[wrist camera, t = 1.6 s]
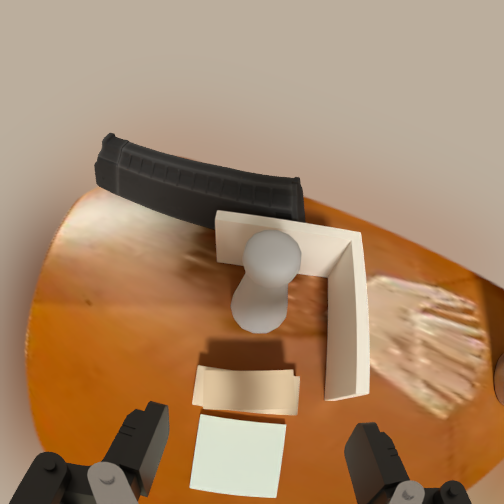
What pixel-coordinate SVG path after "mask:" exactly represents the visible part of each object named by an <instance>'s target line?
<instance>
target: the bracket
mask: <svg viewBox="0 0 504 504" xmlns="http://www.w3.org/2000/svg"><path fill="white" fill-rule="evenodd" d="M264 230H279V231H281V232H283V233H286V234H288V235H290V236H291V237H292V238H293V239H294V240H295V241H296V242H297V243H298V245H299V248H300V250H301V253H302V255H301V264H300V270H299V271H298V273H297V274H304V275H312V276H319V277H327V278H328V338H327V364H326V382H325V397H324V400H326V401H336V400H341V399H346V398H351V397H356V396H361V395H365V394H369V376H370V346H369V316H368V298H367V285H366V274H365V263H364V254H363V246H362V238H361V233H360V232H355V231H349V230H344V229H338V228H332V227H326V226H320V225H314V224H308V223H302V222H296V221H289V220H283V219H276V218H270V217H263V216H256V215H249V214H242V213H235V212H227V211H220V210H217V213H216V217H215V232H216V252H217V262H220V263H227V264H234V265H241V266H244V265H243V262H242V256H243V253H244V249H245V246H246V243H247V241H248V240H249V239H250V238H251V237H252V236H253V235H254V234H256V233H258V232H261V231H264Z"/></svg>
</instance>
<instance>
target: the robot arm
mask: <svg viewBox="0 0 504 504" xmlns="http://www.w3.org/2000/svg"><path fill="white" fill-rule="evenodd" d="M494 384H495V391H496V395H497V398H498V400H499V402H500V403H501V404H502V405H504V354H502V356H501V357H500V358H499V360H498V362H497V365H496V369H495V376H494ZM168 435H169V413H168V405H164V404H160V403H156V402H152V401H150V402H149V403H148V405H147V407H146V409H145V411H141V410H138V409H135V410H134V411H133V412H131V413H130V414H129V415H127V417H126V419H125V420H124V422H123V424H122V426H121V428H120V430H119V433H117V435H116V437H115V439H114V441H113V442H112V444H111V446H110V448H109V450H108V452H107V454H106V456H105V457H104V459H103V460H102V461H101V462H98V463H95V464H94V465H92V466H82V465H76V464H71V463H66V462H65V461H64V459H63V458H62V457H61V456H59V455H58V454H56V453H53V452H43V453H40V454H39V455H38V456H37V457H36V458H35V459H34V461H33V463H32V464H31V466H30V468H29V469H28V471H27V473H26V474H25V476H24V478H23V479H22V481H21V483H20V484H19V486H18V488H17V490H16V492H15V494H14V495H13V497H12V499H11V501H10V503H9V504H138V500H139V497H140V495H142V496H145V497H148V495H149V492H150V489H151V486H152V483H153V480H154V477H155V474H156V471H157V468H158V465H159V463H160V460H161V457H162V454H163V451H164V448H165V445H166V443H167V440H168ZM344 454H345V459H346V462H347V466H348V470H349V473H350V477H351V481H352V484H353V488H354V492H355V496H356V499H357V503H358V504H471V501H470V499H469V497H468V494H467V493H466V490H465V488H464V486H463V485H462V484H461V483H460V482H458V481H453V480H452V481H448V482H446V483H444V484H443V485H442V486H441V487H440V488H423V487H422V486H421V485H420V484H419V483H417V482H415V481H410V479H409V477H408V475H407V473H406V470H405V468H404V466H403V464H402V461H401V459H400V457H399V456H398V452H397V450H396V449H395V446H394V444H393V442H392V439H391V438H390V437H389V436H388V435H387V434H386V433H385V432H380V431H379V429H378V426H377V424H376V423H375V422H370V423H358V424H357V425H356V427H355V429H354V431H353V432H352V434H351V436H350V438H349V440H348V441H347V443H346V445H345V450H344Z"/></svg>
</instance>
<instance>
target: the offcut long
mask: <svg viewBox="0 0 504 504" xmlns="http://www.w3.org/2000/svg"><path fill="white" fill-rule="evenodd" d="M204 370H217V371H234V370H226V369H219V368H212V367H206V366H200V365H198V368H197V375H196V381H195V388H194V394H193V401H192V404H193V405H199V406H203V380H204ZM299 384H300V376H294V392H295V408H284V409H264V410H233V411H242V412H252V413H264V414H279V415H297V412H298V399H299Z"/></svg>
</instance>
